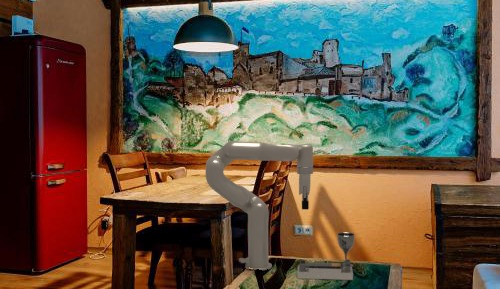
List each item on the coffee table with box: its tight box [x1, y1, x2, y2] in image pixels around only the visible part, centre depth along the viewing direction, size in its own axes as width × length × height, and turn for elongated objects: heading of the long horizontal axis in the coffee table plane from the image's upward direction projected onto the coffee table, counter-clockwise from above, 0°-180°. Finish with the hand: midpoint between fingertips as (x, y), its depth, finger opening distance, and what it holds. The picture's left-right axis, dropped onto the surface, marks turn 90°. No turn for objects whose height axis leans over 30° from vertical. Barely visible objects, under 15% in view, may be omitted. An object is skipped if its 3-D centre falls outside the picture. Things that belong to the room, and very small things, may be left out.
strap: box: [302, 262, 344, 269], centre depth 244 cm, size 18×5×1 cm, turn 83°
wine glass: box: [336, 231, 355, 268], centre depth 260 cm, size 8×8×15 cm
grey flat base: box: [297, 258, 354, 281], centre depth 244 cm, size 24×10×7 cm, turn 83°
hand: (305, 209), depth 260 cm, fingers closed
